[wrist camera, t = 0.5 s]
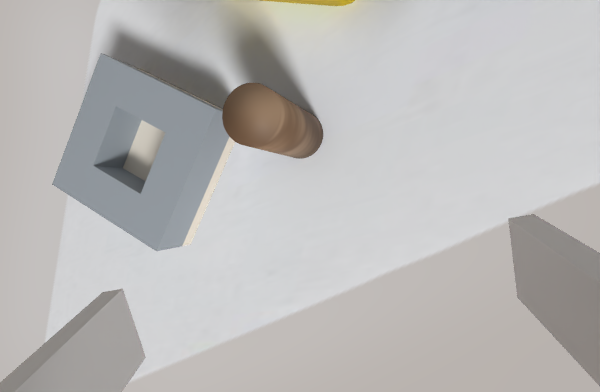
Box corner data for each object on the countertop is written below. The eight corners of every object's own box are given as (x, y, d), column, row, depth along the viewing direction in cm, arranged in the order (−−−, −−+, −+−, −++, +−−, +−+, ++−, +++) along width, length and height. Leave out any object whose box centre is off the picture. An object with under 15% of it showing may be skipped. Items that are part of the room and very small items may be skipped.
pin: (290, 104, 40) (237, 73, 30) (331, 123, 39) (289, 96, 29) (271, 146, 41) (213, 130, 31) (310, 166, 40) (263, 155, 29)
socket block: (139, 69, 46) (101, 53, 41) (244, 120, 42) (216, 109, 37) (94, 185, 48) (52, 184, 43) (190, 244, 44) (156, 251, 39)
